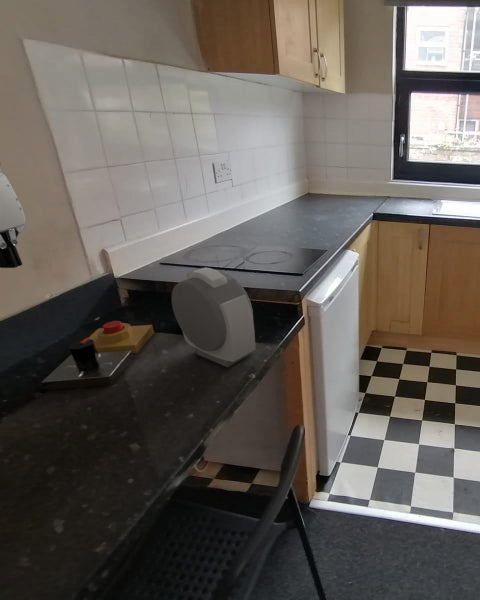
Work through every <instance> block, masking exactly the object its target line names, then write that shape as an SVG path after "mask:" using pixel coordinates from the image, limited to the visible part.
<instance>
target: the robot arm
mask: <svg viewBox="0 0 480 600" xmlns="http://www.w3.org/2000/svg"><path fill="white" fill-rule="evenodd" d="M1 165H2V164H1V162H0V166H1ZM25 224H26V216H25V213H24V210H23V207H22V205H21V202H20V200H19V198H18V196H17V194H16V192H15V190H14V188H13V186H12V184H11V183H10V181H9V179H8V178H7V176H6V175H5V174H4V173H3V172H2V170H1V168H0V269H15V268H18V267H20V266H23V261H22V260H21V259H22V258H21V257H20V254H19V251H18V249H17V245H18V236H19V234H21V233H22V232H24V231H25V230H27V229H26V226H25Z"/></svg>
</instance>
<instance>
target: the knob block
mask: <svg viewBox="0 0 480 600" xmlns="http://www.w3.org/2000/svg"><path fill="white" fill-rule="evenodd" d="M122 326H123V330H122V331H120V332H117V333H113V334H105V332H104V329H103V327H100V328H98V329H96V330H95V331H93V333H92V334H90V335H89V336H88V338H89V339H91V340H93V341H94V344H95V347H96V349H97V352H98V353H104V352H117V351H130V350H131V351H132V355H134V354H138V353H139V352H140V351H141V350H142V348H143V347H144V346H145V344H146V343H148V341H149V339H151V337H152V336H153V334H155V330H154V327H153V324H145V325H144V324H143V325H141V324H140V325H131V324H130V323H125V322H122Z"/></svg>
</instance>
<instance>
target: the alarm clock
mask: <svg viewBox="0 0 480 600" xmlns="http://www.w3.org/2000/svg"><path fill="white" fill-rule="evenodd" d="M171 306H172V311H173V314H174V317H175V319H176V321H177V323H178V326H179V327H180V329H181V331H182V334H183V337H184V340H185V342H186V343H187V344H188V345H190V346H191V347H193V348H194V349H195V353H196V355H198V356H201V357H203V358H205V359H207V360H210V361H212V362H214V363H216V364H219V365H221V366H223V367H225V368H229V367H231V366H233V365H235V364H237V363H238V362H240V361H242V360H243V359H246V358H247V357H248V355H249V354H251V353H253V352H254V351H255V350H256V335H255V333H256V332H255V324H254V310H253V306H252V303H251V299H250V298H249V295H248V293H247V291H246V290H245V288H244V286H243V285H242V284H241V283H240V281H238V279H237V278H235V277H234V276H233V275H232V274H230V273H229V272H226V271H224V270H219V269H214V268H211V267H206V266H205V267H202V268H199V269H195V270H191V271H190V272H187V273H186V279H184V280H182V281H181V280H180V281H178V282H177V284H175V285H174V287H173V289H172V291H171Z"/></svg>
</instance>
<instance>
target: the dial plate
mask: <svg viewBox="0 0 480 600" xmlns="http://www.w3.org/2000/svg"><path fill="white" fill-rule="evenodd" d="M98 355H99V358H100V361H101V363H100V364H99V365H98V366H96V367H94V368H92V369H88V370H78V369H77V367H76V364H75V361H74V359H73V356H72V354H70V355H69V356H68V357H67V358H66V359H65V360H64V361H63V362H61V363H60V364H58V366H57V367H56V368H55V369H54V370H52V372H51V373H49V375H47V377H45V378H44V379H43V380H41V385H42V387H43V389H44V391H55V390H67V389H78V388H88V387H98V386H111V385H113V384H114V383H115V382H116V380H117V379H118V378H119V377H120V376H121V374H122V373H123V372H124V371H125V370H126V368H127V367H128V365H130V363H131V362H132V361H133V360H134V354H132V351H131V350H130V351H117V352H104V353H98Z"/></svg>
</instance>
